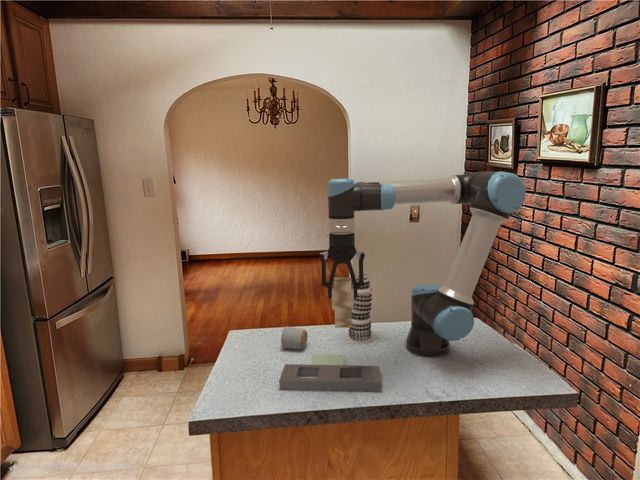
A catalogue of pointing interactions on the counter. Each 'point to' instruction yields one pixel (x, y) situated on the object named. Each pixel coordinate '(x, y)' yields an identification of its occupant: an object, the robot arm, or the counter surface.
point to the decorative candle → (361, 313)
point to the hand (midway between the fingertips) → (343, 307)
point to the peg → (342, 302)
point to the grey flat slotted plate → (331, 378)
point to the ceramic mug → (294, 338)
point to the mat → (327, 359)
